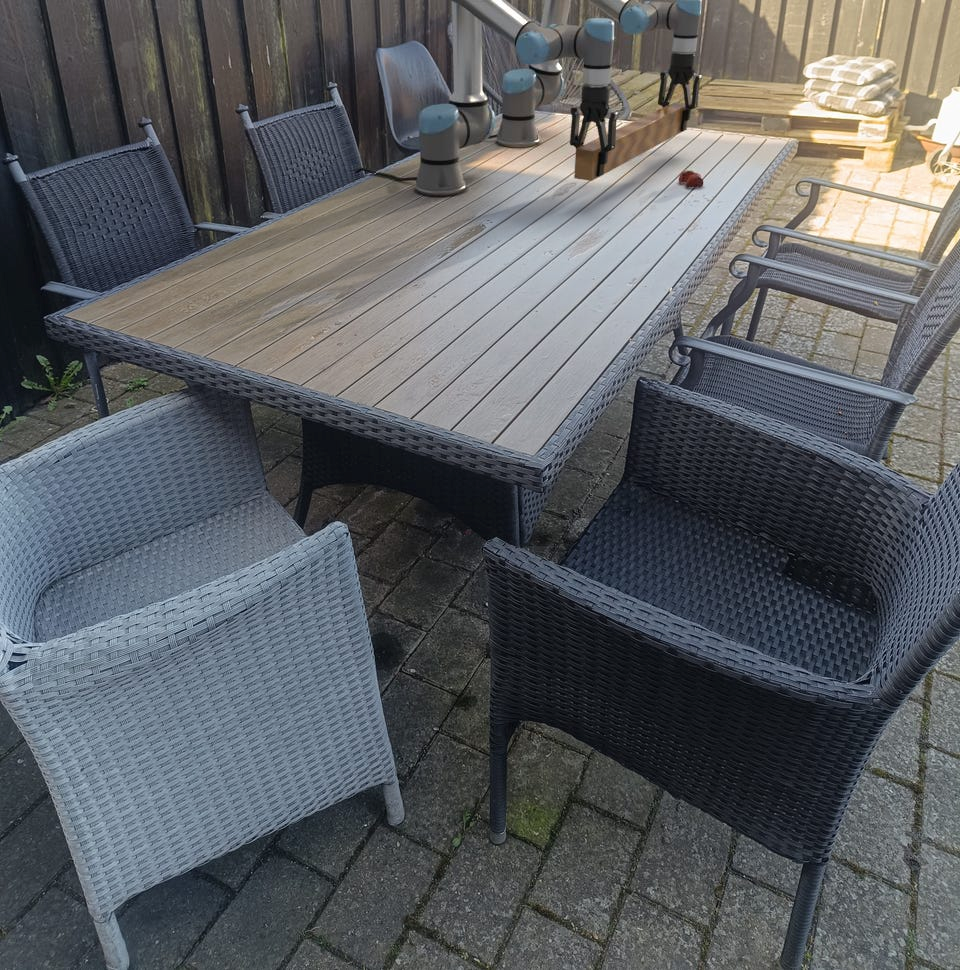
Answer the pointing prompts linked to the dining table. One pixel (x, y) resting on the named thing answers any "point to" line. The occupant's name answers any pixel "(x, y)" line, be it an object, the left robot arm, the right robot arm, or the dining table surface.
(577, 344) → the dining table surface
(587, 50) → the left robot arm
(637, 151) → the bar
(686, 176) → the dark red rounded lump
